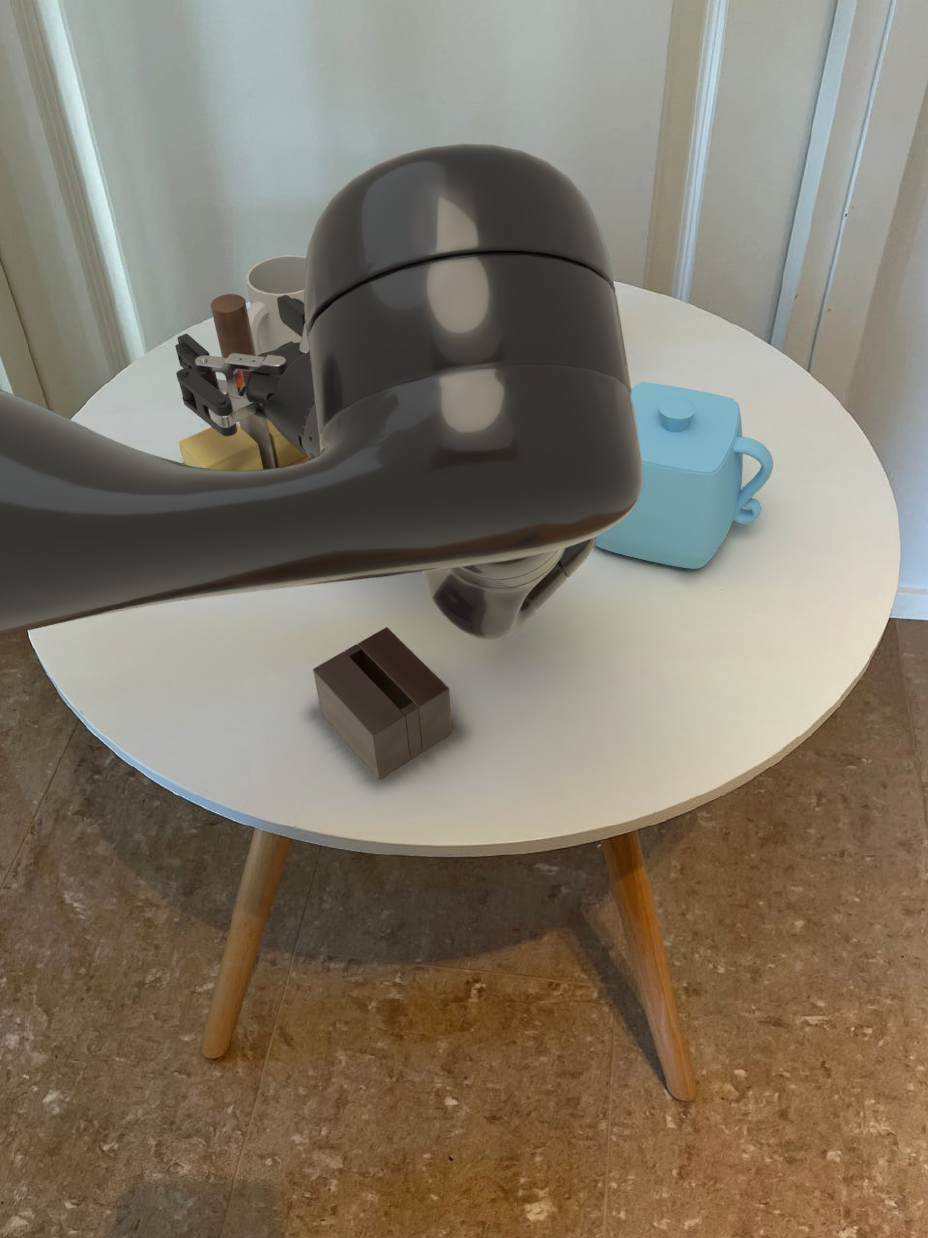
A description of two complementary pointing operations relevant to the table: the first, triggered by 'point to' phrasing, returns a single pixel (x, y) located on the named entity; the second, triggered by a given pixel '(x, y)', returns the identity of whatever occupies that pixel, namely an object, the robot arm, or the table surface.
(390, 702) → the knife holder
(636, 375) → the table surface
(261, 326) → the cup
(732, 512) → the teapot
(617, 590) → the table surface
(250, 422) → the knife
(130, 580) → the robot arm
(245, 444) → the butter
